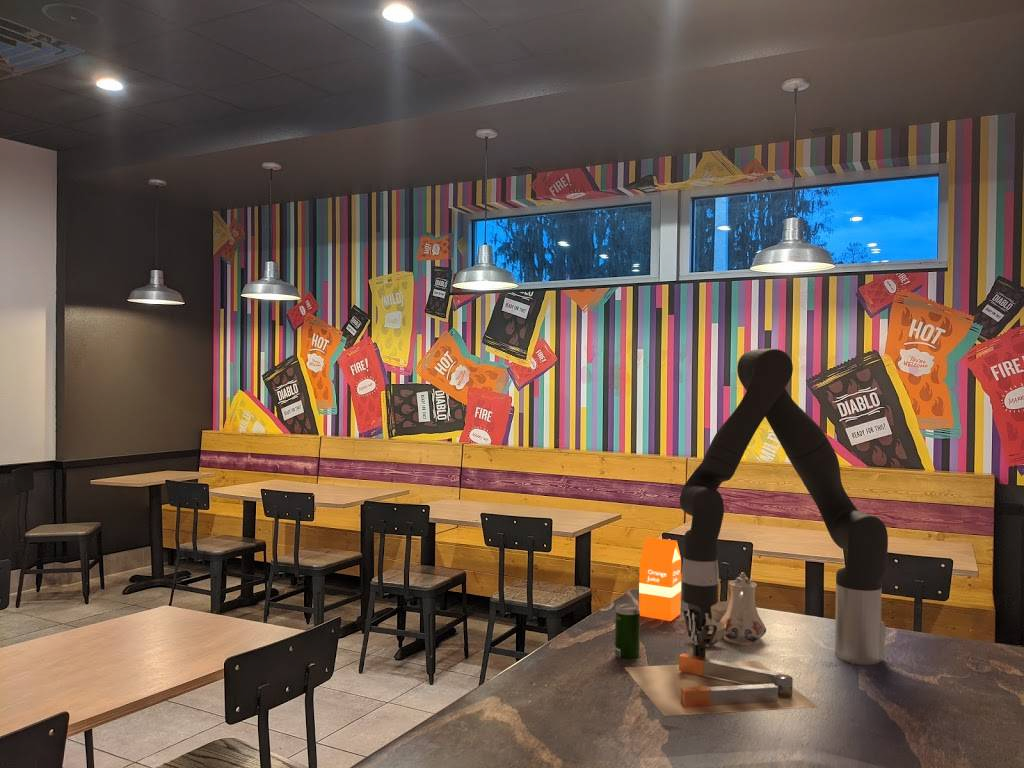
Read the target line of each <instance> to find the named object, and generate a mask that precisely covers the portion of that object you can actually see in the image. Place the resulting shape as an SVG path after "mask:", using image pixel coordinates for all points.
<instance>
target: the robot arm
mask: <svg viewBox="0 0 1024 768" xmlns="http://www.w3.org/2000/svg"><path fill="white" fill-rule="evenodd" d="M793 371H794V365H793V361H792V359H791V357H790V356H789V354H787V352H785V351H783V350H782V349H778V348H760V349H753V350H749V351H747V352H744V353H743V354H742V355H741V356H740V357H739V359H738V362H737V376H738V379H739V382H740V383H741V385H742V387H743V388H744V390H745V393H744V395H743V397H742V398H741V401H740V402H739V404H738V405H737V406H736V408H735V409H734V411H732V413H731V415H730V416H729V417H728V418H727V419H726V420H725V422H724V423H723V424H722V425H721V427H720V428H719V429H718V431H717V432H716V434H715V435H714V436H713V438H712V441H711V443H710V444H709V447H708V448H707V451H706V452H705V455H704V457H703V459H702V461H701V463H700V464H699V465H698V466H697V467H696V469H695V470H694V471H693V472H692V474H691V475H690V477H689V478H688V479H687V481H686V482H685V483H684V485H683V487H682V489H681V491H680V496H679V505H680V508H681V510H682V511H683V512H684V513H686V515H689V516H691V518H692V519H691V524H690V529H687V531H685V533H684V537H683V560H682V564H681V600H682V602H684V604H687V606H688V607H687V609H683V616H684V617H683V618H684V622H685V625H686V630H687V635H688V637H689V638H691V639H690V640H691V643H692V655H694V656H699V657H704V658H706V648H707V647H706V645H709V644H711V642H712V640H713V638H714V635H715V633H716V631H717V626H716V625H712V623H711V621H712V613H711V606H713V605H715V604H717V603H718V601H719V578H720V577H719V575H720V572H719V562H718V559H719V558H718V553H719V552H718V550H719V548H718V547H719V545H718V544H719V543H718V539H719V535H720V532H721V527H722V523H723V519H724V514H725V504H724V503H725V502H724V499H723V496H722V494H721V493H720V492H719V491H718V489H719V487H720V486H721V484H723V483H724V482H729V481H730V480H731V479H732V478H733V476H734V475H735V472H736V471H737V468H738V467H739V464H740V462H742V461H741V460H742V458H743V456H744V454H745V452H746V450H747V448H748V446H749V444H750V442H751V440H752V439H753V436H754V435H755V433H756V432H757V430H758V428H759V427H760V425H761V424H762V422H763V421H764V418H765V419H766V420H767V422H768V424H769V426H770V428H771V430H772V432H773V433H774V435H775V436H776V438H777V441H778V442H779V444H780V446H781V447H782V449H783V451H784V453H785V455H786V456H787V458H788V460H789V462H790V464H791V465H792V467H793V469H794V470H795V472H796V473H797V475H798V477H799V478H800V479H801V482H802V483H803V486H804V487H805V488H806V490H807V492H808V493H809V495H810V497H811V498H812V500H813V501H814V503H815V506H816V507H817V509H818V511H819V513H820V516H821V518H822V520H823V522H824V525H825V527H826V530H827V532H828V534H829V536H830V537H831V539H832V541H833V542H834V544H835V545H837V547H838V548H840V549H842V550H843V551H846V552H847V555H846V564H845V566H844V567H842V568H838V569H837V571H836V575H835V619H834V620H835V623H834V624H835V625H834V626H835V629H834V631H835V632H834V633H835V634H834V656H835V657H836V658H837V659H839V660H841V661H845V662H848V663H852V664H857V665H876V664H878V663H880V662H885V660H886V659H885V658H886V623H885V622H884V621H882V587H883V585H882V584H883V580H884V578H885V576H886V573H887V566H888V565H887V563H888V551H889V548H888V547H889V545H888V544H889V535H888V529H887V527H886V524H885V523H884V522H883V521H882V520H881V518H879V517H877V516H875V515H872V514H869V513H867V512H862V511H860V510H859V509H858V508H857V507H856V505H854V503H853V501H852V500H851V499H850V497H849V495H848V494H847V491H846V490H845V488H844V486H843V484H842V479H841V468H840V461H839V459H838V455H837V453H836V451H835V449H834V447H833V445H832V444H831V442H830V440H829V438H828V437H827V435H826V434H825V432H824V430H823V429H822V428H821V426H819V425H818V424H817V422H815V420H814V419H812V418H811V417H810V415H808V414H807V413H806V411H805V410H803V409H802V408H801V407H800V406H799V405H798V404H797V403H796V402H795V401H794V399H793V398H792V397H791V395H790V393H789V392H788V390H787V388H786V387H787V386H788V384H789V382H790V381H791V379H792V376H793Z"/></svg>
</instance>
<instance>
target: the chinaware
mask: <svg viewBox="0 0 1024 768" xmlns="http://www.w3.org/2000/svg"><path fill="white" fill-rule="evenodd" d="M728 584H729V587H730V588H729V589H730V598H729V600H725V601H720V600H718V603H717V604H715V605H713V606H711V613H712V621H711V623H712V625H716V626H717V631H716V633H715V635H714V638H713V640H712V642H711V644H709V645H706V648H716V646H715V645H716V644H718V643H719V642H720V641H722V639H724V640H725V641H726V642H728V643H730V644H734V645H741V646H754V645H758V644H760V643H761V638H762V637H764V635H765V634H766V632H767V627H766V626H765V624H764V621H763V620H762V619H761V617H760V615H759V613H758V610H757V607H756V606H757V605H756V602H755V601H756V600H755V599H756V597H755V596H756V595H755V593H756V592H755V591H756V588H757V586H758V584H757V583H756V582H753V581H751V580H750V578H748V577H747V575H746V573H745V572H744V571H742V572H741V573H740V574H739V576H738V577H736V578H735V579H734V580H730V581H728Z"/></svg>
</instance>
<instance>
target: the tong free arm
mask: <svg viewBox="0 0 1024 768" xmlns="http://www.w3.org/2000/svg"><path fill="white" fill-rule="evenodd" d="M678 665H679V671H683V672H688V673H693V674H698V675H706V676H711V677H716V678H721V679H725V680H730V681H735V682H740V683H745V684H750V685H756V684H775V685H776V686H777V687H778V696H781V697H791V696H792V690H793V688H794V686H793V684H794V683H793V681H794V679H793V677H792V676H791V675H789V674H783V673H781V672H777V671H772V670H771V671H767V670H762V669H757V668H752V667H747V666H742V665H737V664H732V663H726V661H720V660H716V659H710V658H707V657H705V658H704V657H699V656H694V655H693V654H688V653H681V654H680V655H679V656H678Z"/></svg>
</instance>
